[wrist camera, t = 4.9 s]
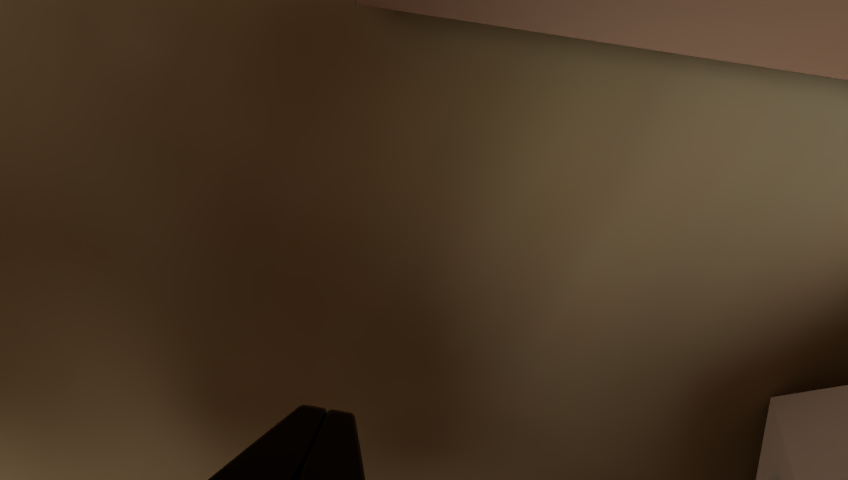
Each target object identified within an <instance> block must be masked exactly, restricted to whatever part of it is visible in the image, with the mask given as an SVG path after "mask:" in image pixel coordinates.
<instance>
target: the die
mask: <svg viewBox="0 0 848 480" xmlns="http://www.w3.org/2000/svg"><path fill="white" fill-rule="evenodd" d="M756 480H848V385H845V386H838V387H832V388H826V389H819V390H813V391H807V392H801V393H794V394H788V395H782V396H776V397H771V399H770V404H769V410H768V415H767V421H766V426H765V432H764V437H763V443H762V448H761V454H760V459H759V465H758V470H757V476H756Z"/></svg>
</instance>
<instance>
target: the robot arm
mask: <svg viewBox="0 0 848 480" xmlns="http://www.w3.org/2000/svg"><path fill="white" fill-rule="evenodd" d="M208 480H365V475H364V469H363V463H362V457H361V451H360V445H359V438H358V432H357V426H356V420H355V416H354V414H353V413H350V412H344V411H338V410H329V411H328V412H327V410H326V409H325V408H321V407H315V406H310V405H301V406H299V407H298V408H296V409H295V410H294V411H293V412H291V413H290V414H289V415H288V416H286V417H285V418H284V419H283V420H281V421H280V422H279V423H278V424H276V425H275V426H274V427H273V428H271V429H270V430H269V431H268V432H266V433H265V434H264V435H263V436H262V437H260V438H259V439H258V440H257V441H255V442H254V443H253V444H252V445H250V446H249V447H248V448H247V449H245V450H244V451H243V452H242V453H240V454H239V455H238V456H237V457H235V458H234V459H233V460H232V461H230V462H229V463H228V464H227V465H226V466H224V467H223V468H222V469H221V470H219V471H218V472H217V473H216V474H214V475H213V476H212V477H211V478H209V479H208Z"/></svg>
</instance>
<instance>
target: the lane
mask: <svg viewBox="0 0 848 480" xmlns="http://www.w3.org/2000/svg"><path fill="white" fill-rule="evenodd" d="M355 4H358V5H364V6H371V7H377V8H384V9H390V10H397V11H403V12H410V13H416V14H423V15H429V16H435V17H442V18H448V19H455V20H461V21H468V22H474V23H481V24H487V25H494V26H500V27H507V28H513V29H520V30H526V31H533V32H539V33H546V34H552V35H559V36H565V37H572V38H578V39H585V40H591V41H598V42H604V43H610V44H617V45H623V46H630V47H636V48H643V49H649V50H656V51H662V52H669V53H675V54H682V55H688V56H695V57H701V58H708V59H714V60H721V61H727V62H734V63H740V64H747V65H753V66H760V67H766V68H773V69H779V70H785V71H792V72H798V73H805V74H811V75H818V76H824V77H831V78H837V79H844V80H848V0H356V3H355Z"/></svg>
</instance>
